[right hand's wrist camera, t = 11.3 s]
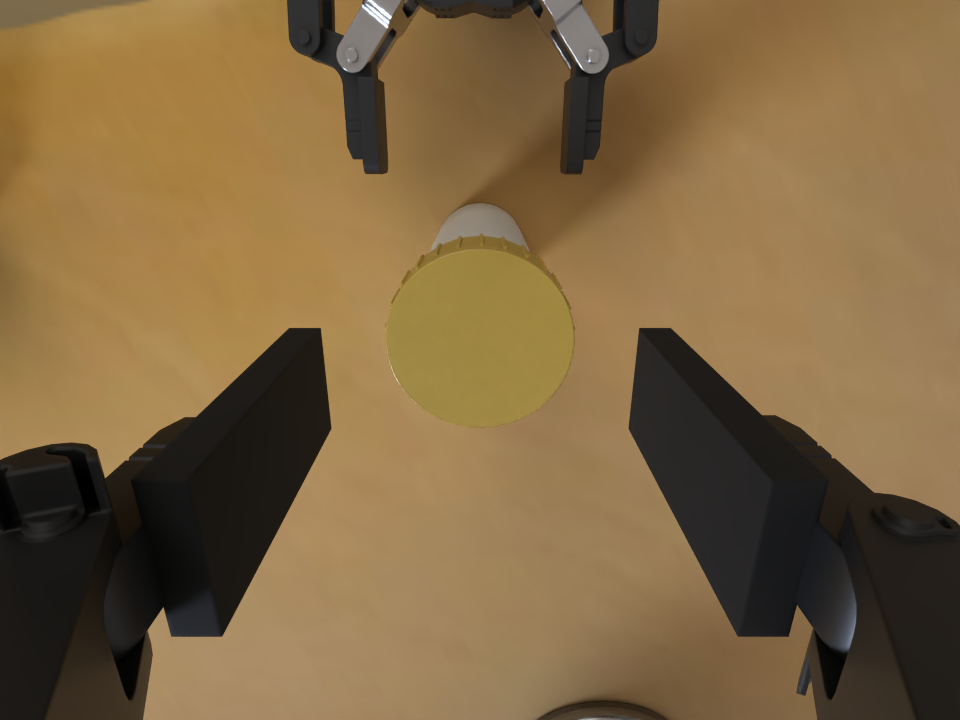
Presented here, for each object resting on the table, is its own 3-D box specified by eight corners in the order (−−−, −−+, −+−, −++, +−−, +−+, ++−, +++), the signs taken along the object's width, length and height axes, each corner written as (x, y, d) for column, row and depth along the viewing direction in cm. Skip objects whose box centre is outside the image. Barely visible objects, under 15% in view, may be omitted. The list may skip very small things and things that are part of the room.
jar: (503, 302, 33) (523, 433, 18) (424, 271, 32) (376, 381, 17) (537, 223, 31) (589, 294, 16) (454, 189, 31) (430, 230, 16)
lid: (524, 418, 20) (530, 453, 18) (372, 363, 19) (357, 393, 17) (594, 272, 18) (611, 291, 16) (428, 205, 17) (420, 214, 15)
